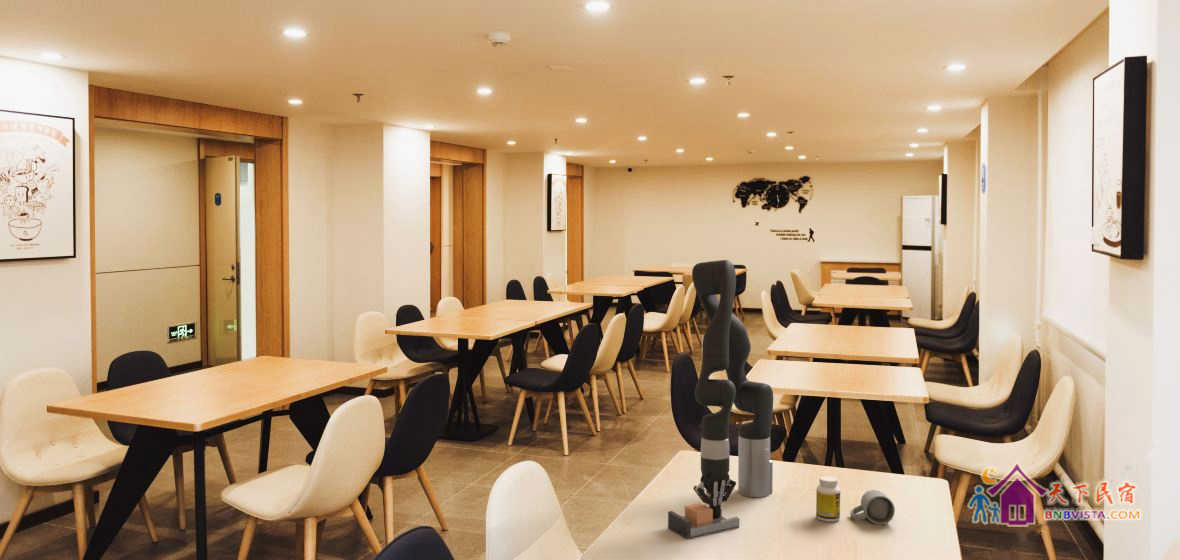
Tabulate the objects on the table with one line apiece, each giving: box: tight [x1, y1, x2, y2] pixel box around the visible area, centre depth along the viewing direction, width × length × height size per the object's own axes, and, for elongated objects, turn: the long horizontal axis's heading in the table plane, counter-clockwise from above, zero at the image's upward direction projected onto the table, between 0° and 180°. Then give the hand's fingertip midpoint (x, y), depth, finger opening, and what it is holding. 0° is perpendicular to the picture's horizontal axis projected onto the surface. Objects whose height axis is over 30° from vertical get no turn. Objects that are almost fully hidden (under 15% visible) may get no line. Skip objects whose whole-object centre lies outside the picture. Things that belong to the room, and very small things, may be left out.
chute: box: [667, 508, 740, 540], centre depth 209 cm, size 17×9×4 cm, turn 118°
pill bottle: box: [815, 475, 841, 523], centre depth 215 cm, size 6×6×11 cm
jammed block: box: [684, 502, 713, 527], centre depth 208 cm, size 5×6×5 cm
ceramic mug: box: [849, 489, 896, 526], centre depth 214 cm, size 11×8×8 cm
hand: (714, 518), depth 210 cm, fingers closed
